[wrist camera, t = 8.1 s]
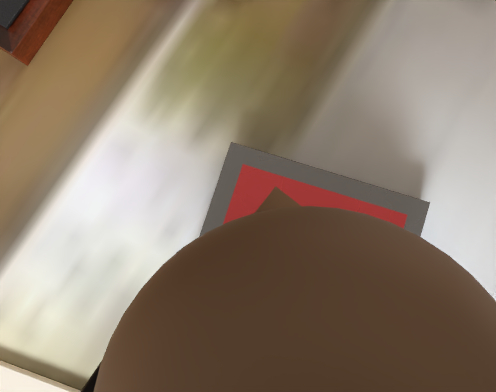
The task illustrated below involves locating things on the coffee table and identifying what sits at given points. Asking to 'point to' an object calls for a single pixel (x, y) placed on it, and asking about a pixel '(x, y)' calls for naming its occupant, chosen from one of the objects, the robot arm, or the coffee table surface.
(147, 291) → the stamp
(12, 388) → the card
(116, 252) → the coffee table surface
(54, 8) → the picture frame
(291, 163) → the ink pad
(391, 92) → the coffee table surface
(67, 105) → the coffee table surface
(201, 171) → the coffee table surface
